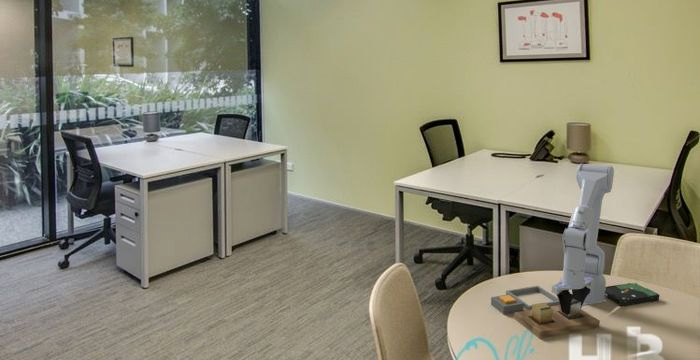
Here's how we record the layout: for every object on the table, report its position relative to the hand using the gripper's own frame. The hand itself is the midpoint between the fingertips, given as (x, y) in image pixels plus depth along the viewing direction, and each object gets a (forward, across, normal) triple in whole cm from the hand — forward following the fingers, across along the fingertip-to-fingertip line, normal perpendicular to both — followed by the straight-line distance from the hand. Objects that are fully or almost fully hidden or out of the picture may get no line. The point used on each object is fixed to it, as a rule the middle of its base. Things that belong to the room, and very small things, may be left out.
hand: (570, 311), depth 149 cm
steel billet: (+3, 0, 0) cm, 3 cm away
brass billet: (+3, +10, -1) cm, 10 cm away
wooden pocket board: (+3, +5, -1) cm, 6 cm away
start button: (+3, +11, -15) cm, 19 cm away
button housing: (+3, +11, -15) cm, 19 cm away
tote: (+3, 0, -15) cm, 16 cm away
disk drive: (+4, -30, -4) cm, 30 cm away
